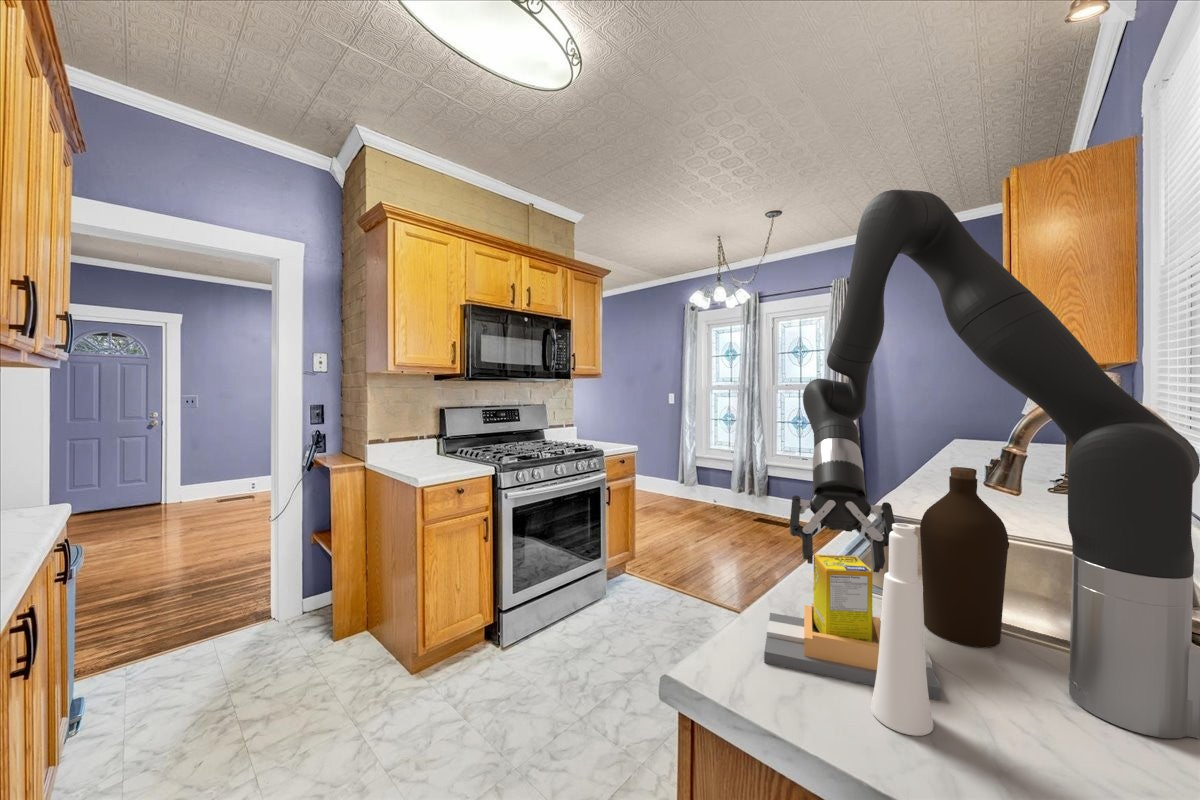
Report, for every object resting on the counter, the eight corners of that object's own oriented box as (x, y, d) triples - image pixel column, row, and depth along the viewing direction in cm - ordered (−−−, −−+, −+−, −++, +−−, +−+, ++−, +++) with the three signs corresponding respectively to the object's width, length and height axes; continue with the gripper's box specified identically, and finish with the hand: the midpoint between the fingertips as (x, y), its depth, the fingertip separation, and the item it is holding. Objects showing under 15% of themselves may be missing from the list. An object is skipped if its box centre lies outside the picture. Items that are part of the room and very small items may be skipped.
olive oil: (953, 651, 67) (956, 475, 66) (903, 615, 78) (905, 463, 77) (1026, 650, 67) (1030, 474, 66) (966, 614, 78) (969, 462, 77)
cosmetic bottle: (939, 743, 50) (943, 536, 49) (874, 727, 52) (876, 529, 52) (926, 707, 55) (929, 521, 55) (867, 694, 58) (869, 515, 57)
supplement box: (855, 629, 69) (855, 554, 69) (873, 652, 63) (874, 570, 63) (812, 626, 70) (812, 553, 70) (825, 649, 64) (826, 568, 64)
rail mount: (918, 648, 68) (918, 617, 68) (940, 700, 57) (941, 663, 57) (770, 621, 76) (770, 594, 76) (764, 662, 65) (764, 629, 65)
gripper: (790, 456, 78) (788, 547, 68) (890, 461, 73) (904, 560, 63) (791, 482, 83) (789, 570, 73) (884, 488, 78) (897, 584, 68)
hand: (842, 565), depth 68 cm, fingers open, 8 cm apart
